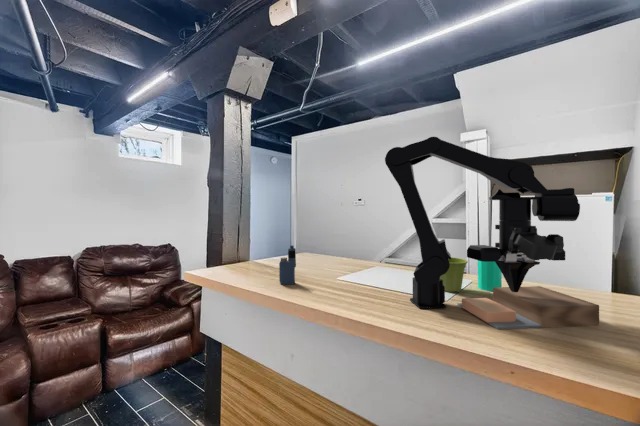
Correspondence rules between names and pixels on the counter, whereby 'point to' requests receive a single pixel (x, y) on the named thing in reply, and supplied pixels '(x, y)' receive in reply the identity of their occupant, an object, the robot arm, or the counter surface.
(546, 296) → the wooden block
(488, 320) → the salmon pink brick
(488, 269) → the candle
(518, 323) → the mat
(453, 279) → the plant pot
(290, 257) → the vaping device
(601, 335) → the counter surface
